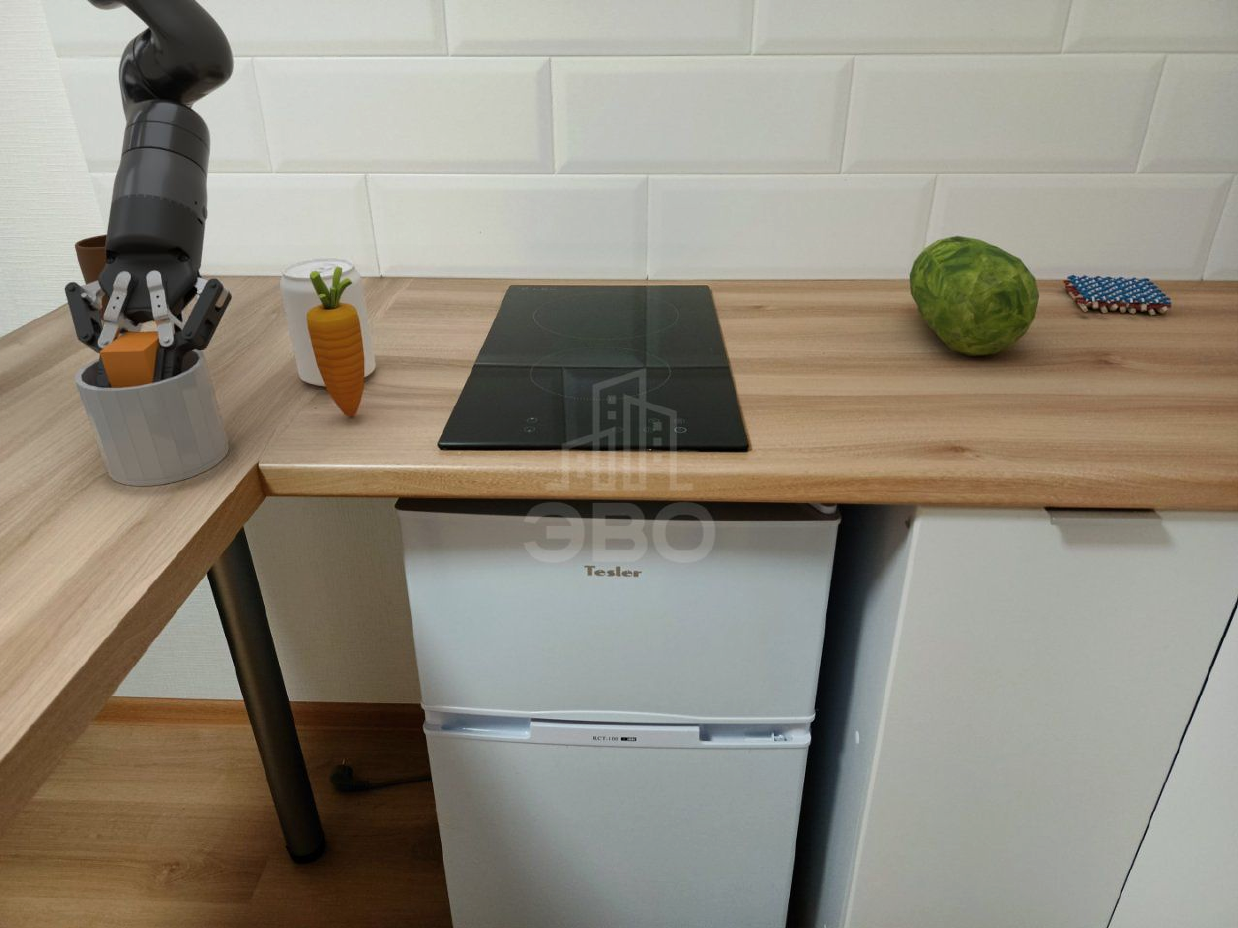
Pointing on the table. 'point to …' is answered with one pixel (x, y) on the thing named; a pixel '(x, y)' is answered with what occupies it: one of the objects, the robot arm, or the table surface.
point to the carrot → (337, 343)
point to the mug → (93, 262)
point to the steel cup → (156, 424)
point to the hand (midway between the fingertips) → (137, 393)
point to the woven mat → (1116, 294)
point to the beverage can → (304, 297)
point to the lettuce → (973, 295)
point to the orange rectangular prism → (131, 359)
